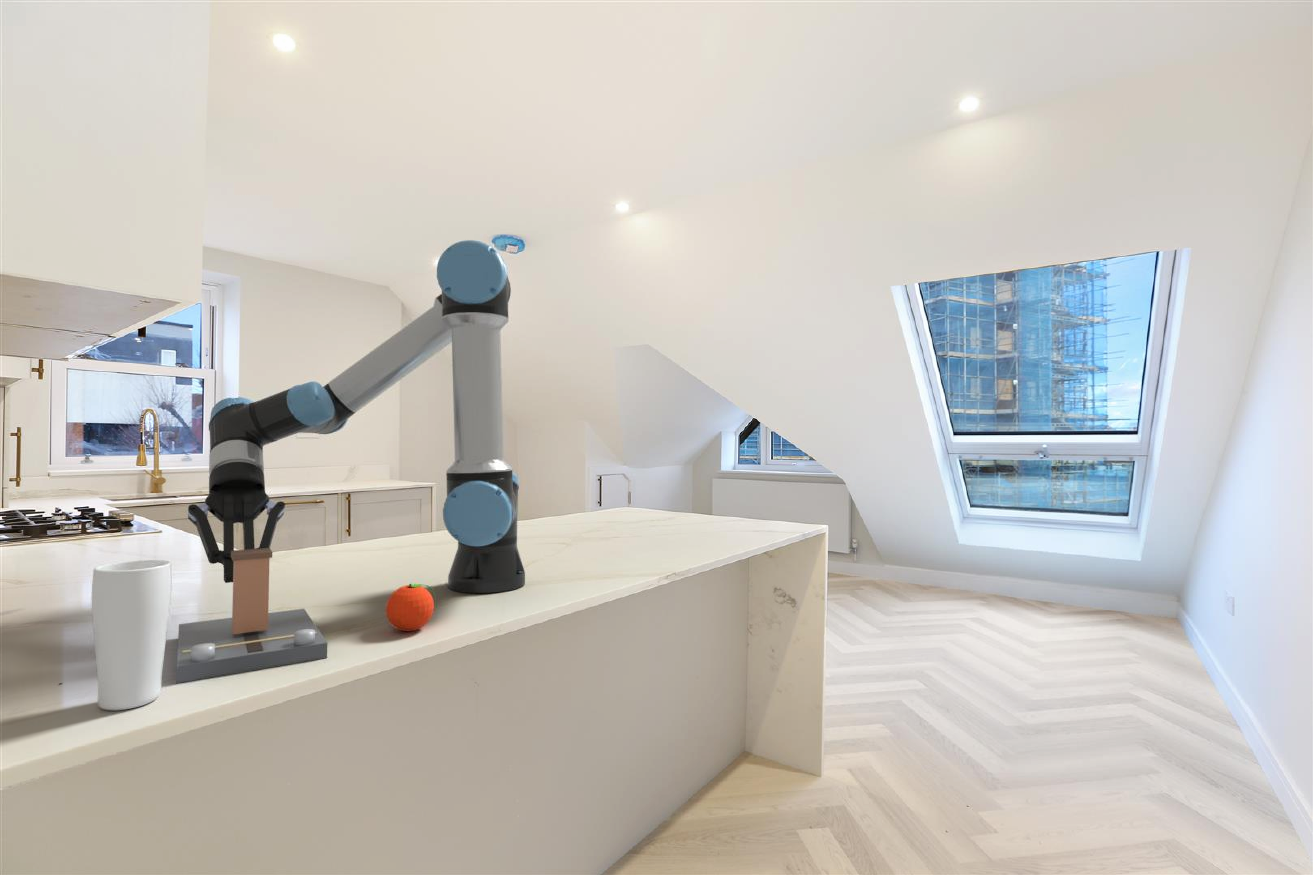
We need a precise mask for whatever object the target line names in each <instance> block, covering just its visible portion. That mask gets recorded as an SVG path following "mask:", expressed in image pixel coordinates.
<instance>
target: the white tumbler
mask: <svg viewBox="0 0 1313 875" xmlns="http://www.w3.org/2000/svg"><path fill="white" fill-rule="evenodd" d="M172 570H173V569H172V562H171V561H169V560H163V559H142V560H141V559H140V560H129V561H120V562H114V563H108V564H107V563H106V564H102V565H99V566H96V567H95V568H93V570H92V583H91V618H92V627H93V628H92V630H93V638H94V639H93V641H94V650H95V651H94V652H95V661H96V663H95V664H96V676H97V677H96V678H97V704H98V707H99V708H101V709H102V710H105V711H123V710H125V711H126V710H130V709H134V708H138V707H143V706H145V705H147V704H151V702H153V701H155V700H157V699H158V698H159V697H160V695H161V692H162V684H163V683H162V678H163V677H162V676H163V668H164V659H165V651H166V643H167V636H168V627H169V621H170V613H171V605H172V594H173V593H172V590H173V573H172Z"/></svg>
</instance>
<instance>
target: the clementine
mask: <svg viewBox="0 0 1313 875" xmlns="http://www.w3.org/2000/svg"><path fill="white" fill-rule="evenodd" d="M424 586H425V587H427V588H428V589H430V590H431V591H432V593H433V595H434V596H436V594H435V590H434V589H433V588H432V587H431V586H429V585H426V584H423V583H421V584H420V583H413V584H412V583H409V584H406V585H402V586H400V587H399V588H397V589H396V590H395V591H393V593H391V595H390V596H389V598H388V600H387V602H386V607H385V614H386V619H387V621H388V622H389V624H391V626H393V628H395V629H397V630H399V631H403V632H413V631H416V630H419V629H421V628H423V627H424V626H425V625H427V623H428V622H429V621H430V620H431V619H432V616H433V614H434V609H435V606H434V605H435V604H434V598H433V596H432V594H431V592H429V590H428V589H426V588H424Z"/></svg>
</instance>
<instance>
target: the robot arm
mask: <svg viewBox="0 0 1313 875" xmlns="http://www.w3.org/2000/svg"><path fill="white" fill-rule="evenodd" d="M436 279H437V284H438V286H439V287H440V289H441V294H439V295H438V296H436V297H435V298H434V302H433V306H431V307H430V308H429V309H428V310H426V311H425V312H423V313H422V314H421V315H420V316H418V317H417V318H416V319H414V320H413V321H411V322H410V323H408V324H407V325H406V326H405V327H403V328H401V329H400V330H398V331H397V332H396V333H395V334H393V335H391V337H389V338H388V339H386V340H385V341H384V342H382V343H381V344H379V345H378V346H376V347H375V348H374V349H373V350H371V351H370V352H368V353H366V355H364V356H363V357H362V358H360V359H359V360H358V361H356V362H355V363H353V364H352V365H351V366H349V367H348V368H347V369H345V370H344V371H342V372H341V373H339V374H338V375H337V376H336V377H334V378H332V379H331V380H330V381H329V382H327V383H326V384H325V385H324V386H322V384H321V383H320V382H318V381H309V382H305V383H301V384H296V385H293V386H292V387H290V388H288V389H286V390H283V391H280V392H277V393H275V394H273V395H269V396H267V397H265V398H262V399H259V400H257V401H253V400H251V399H249V398H246V397H242V396H237V397H231V396H230V397H225V398H222V399H221V400H220V401H218V402H216V404H214V405H213V407H212V409H211V412H210V417H209V418H210V419H209V421H208V431H209V454H208V455H209V456H208V457H209V460H208V461H209V462H208V473H209V476H208V495H207V497H205V500H204V502H203V503H201V504H199V505H197V504H190V505H188V506H187V518H188V520H189V521H190V522H191V523H192V524H193V525H194V526H195V527H196V529H197V532H198V535H199V537H200V538H199V539H200V541H201V544H202V546H203V549H204V553H205V556H206V558H207V560H208V563H209V564H211V565H213V564H217V563H218V564H221V565H222V566H223V582H224V583H225V584H229V583H233V563H234V561H232V558H231V551H234V550H235V547H234V546H235V545H234V544H235V543H234V542H235V538H234V536H235V535H234V533H235V532H234V528H235V526H234V524H237V523H240V524H242V532H243V533H242V534H243V535H242V536H243V550H248V549H262V548H270V549H271V544H272V541H273V538H274V534H275V531H276V528H277V523H278V522H279V521H280V519H282V517H283V516H284V515H285V506H286V504H285V502H284V501H278V502H274V501H271V500H270V497H269V495H268V494H267V493H266V485H265V482H266V481H265V473H264V472H265V466H264V452H263V449H264V446H267V445H269V444H272V443H274V442H277V441H279V440H282V439H284V438H285V439H286V438H288V437H290V436H293V435H296V434H299V433H301V434H305V433H306V434H318V435H330V434H334V433H336V432H338V431H340V430H342V429H343V428H344V427H345V425H346V424H347V423H348V420H349V419H350V418H351V417H353V415H355V414H356V413H357V412H358V411H360V410H361V409H362V408H364V407H366V406H367V405H368V404H369V403H371V402H372V401H374V399H376V398H378V397H379V396H380V395H382V394H383V393H384V392H386V391H388V390H389V389H390V388H391V387H392V386H394V385H395V384H397V383H399V381H401V380H402V379H404V378H405V377H407V376H408V375H410V373H412V372H413V371H415V370H416V369H418V367H420V366H421V365H422V364H424V363H426V362H427V361H428V360H429V359H431V358H432V357H433V356H435V355H436V354H437V353H440V351H442V350H443V349H444V348H446V347H447V346H449V345H450V344H451V356H452V357H451V359H452V360H451V361H452V365H451V368H452V395H453V396H452V399H453V401H452V402H453V405H452V406H453V434H454V436H453V439H454V442H453V443H454V462H453V463H452V465H451V466H449V468H447V470H446V471H445V472H446V498H445V501H444V503H443V508H442V519H443V524H444V526H445V528H446V530H447V532H448V533H449V535H450V536H451V537H452V538H453V539H454V540H456V541H457V549H456V552H455V554H454V558H453V561H452V564H451V567H450V570H449V572H448V576H447V577H448V578H447V588H448V589H450V590H451V591H455V592H461V593H471V594H474V593H475V594H483V593H484V594H485V593H486V594H487V593H500V592H506V591H511V590H512V591H513V590H517V589H519V588H522V587H523V586H524V585H526V572H525V568H524V565H523V562H522V558H521V555H520V551H519V549H518V511H519V510H518V509H519V508H518V507H519V506H518V505H519V504H518V503H519V502H518V500H519V495H518V494H519V492H518V491H519V490H520V484H519V478H518V475H517V474H516V472H513V468H512V466H510V465H509V464H508V463H507V462H506V461H505V459H504V457H505V456H504V424H503V422H504V421H503V419H504V418H503V387H502V386H503V385H502V384H503V383H502V382H503V381H502V380H503V378H502V350H501V330H502V328H504V327H505V326H506V325H507V324H508V323H509V302H510V298H511V292H512V291H511V290H512V289H511V288H512V287H511V283H510V280H509V276H508V268H507V265H506V263H505V261H504V259H503V258H502V256H501V255H500V254H499V253H498V252H497V250H496V249H494V248H493V247H492V246H491V245H489V244H487V243H485V242H482V241H479V240H473V239H470V240H469V239H467V240H466V239H465V240H462V241H458V242H455V243H452V245H450V246H448V247H447V248H446V249H445V250H444V251H443V253H441V255H440V257H439V259H438V262H437V265H436ZM265 510H266V515H267V519H266V522H265V527H264V530H263V533H262V536H261V540H260V543H259V546H258V547H257V548H256V546H255V527H254V521H255V520H256V519H258V517H259V516H260V515H261V514H262V513H263V512H265ZM208 512H210V514H212V515H213V516H214V517H215V518H216V520H219V521H220V522H222V523H223V524H222V526H223V527H222V529H223V532H222V533H223V536H222V537H223V538H222V540H223V548H222V549H223V550H222V549H219V545H218V542H217V540H216V538H215V535H214V532H213V529H212V527H211V524H210V522H209V519H208V516H209V514H208Z"/></svg>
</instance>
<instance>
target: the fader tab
mask: <svg viewBox="0 0 1313 875" xmlns="http://www.w3.org/2000/svg"><path fill="white" fill-rule="evenodd" d="M231 558H232V561H234V563H233V582H232V611H231V612H232V614H231V618H232V630H233V634H239V633H247V632H254V631H261V630H268V613H269V603H270V602H269V599H270V597H269V596H270V594H269V593H270V560H271V559H272V558H273V551H272V549H271V547H270V548H262V549H256V548H255V549H248V550H244V549H240V550H239V549H237V550H235V549H234V551H231Z"/></svg>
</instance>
